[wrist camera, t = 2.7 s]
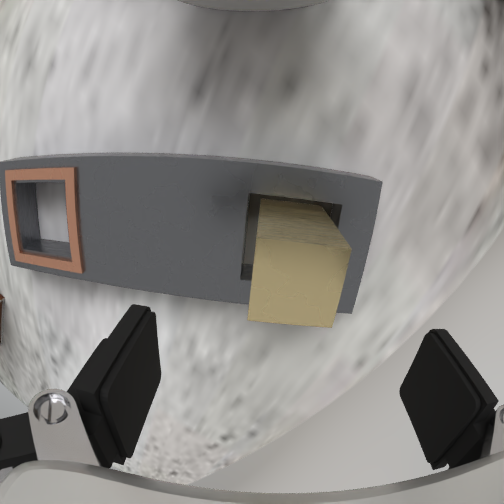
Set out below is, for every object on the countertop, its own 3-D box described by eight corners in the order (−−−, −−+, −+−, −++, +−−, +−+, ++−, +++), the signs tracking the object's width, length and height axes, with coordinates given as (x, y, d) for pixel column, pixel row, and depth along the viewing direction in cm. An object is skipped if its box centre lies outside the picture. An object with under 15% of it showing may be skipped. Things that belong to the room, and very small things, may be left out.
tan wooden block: (320, 205, 20) (351, 248, 12) (311, 260, 21) (331, 327, 14) (261, 198, 20) (256, 237, 12) (254, 254, 21) (247, 320, 14)
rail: (369, 175, 19) (384, 182, 16) (344, 295, 22) (352, 316, 19) (18, 157, 19) (-4, 162, 16) (27, 254, 22) (9, 266, 20)
